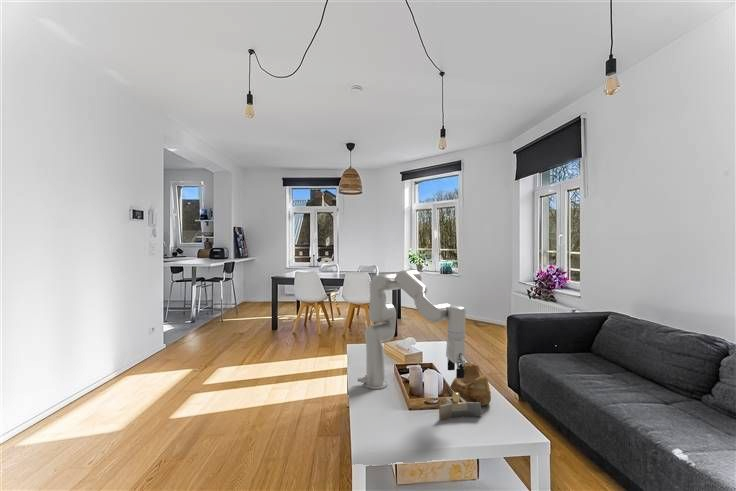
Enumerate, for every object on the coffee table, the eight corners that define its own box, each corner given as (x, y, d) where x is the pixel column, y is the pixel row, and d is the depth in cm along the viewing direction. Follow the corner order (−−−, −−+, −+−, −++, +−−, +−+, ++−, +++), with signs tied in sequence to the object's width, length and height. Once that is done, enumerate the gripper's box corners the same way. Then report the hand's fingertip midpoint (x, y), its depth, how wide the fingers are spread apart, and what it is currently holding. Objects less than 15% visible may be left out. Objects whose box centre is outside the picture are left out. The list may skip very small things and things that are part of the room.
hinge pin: (454, 415, 165) (454, 394, 165) (451, 412, 168) (451, 392, 168) (460, 415, 166) (460, 394, 166) (457, 412, 169) (457, 391, 169)
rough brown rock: (446, 391, 195) (444, 362, 195) (478, 387, 196) (476, 359, 195) (458, 412, 172) (455, 379, 172) (494, 408, 173) (492, 376, 172)
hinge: (439, 420, 160) (439, 406, 160) (433, 412, 169) (433, 398, 169) (481, 417, 164) (481, 403, 164) (472, 409, 172) (472, 395, 172)
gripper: (440, 330, 175) (440, 367, 175) (456, 340, 158) (455, 381, 158) (456, 329, 176) (455, 366, 176) (473, 339, 159) (472, 380, 159)
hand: (455, 373), depth 167 cm, fingers open, 9 cm apart
